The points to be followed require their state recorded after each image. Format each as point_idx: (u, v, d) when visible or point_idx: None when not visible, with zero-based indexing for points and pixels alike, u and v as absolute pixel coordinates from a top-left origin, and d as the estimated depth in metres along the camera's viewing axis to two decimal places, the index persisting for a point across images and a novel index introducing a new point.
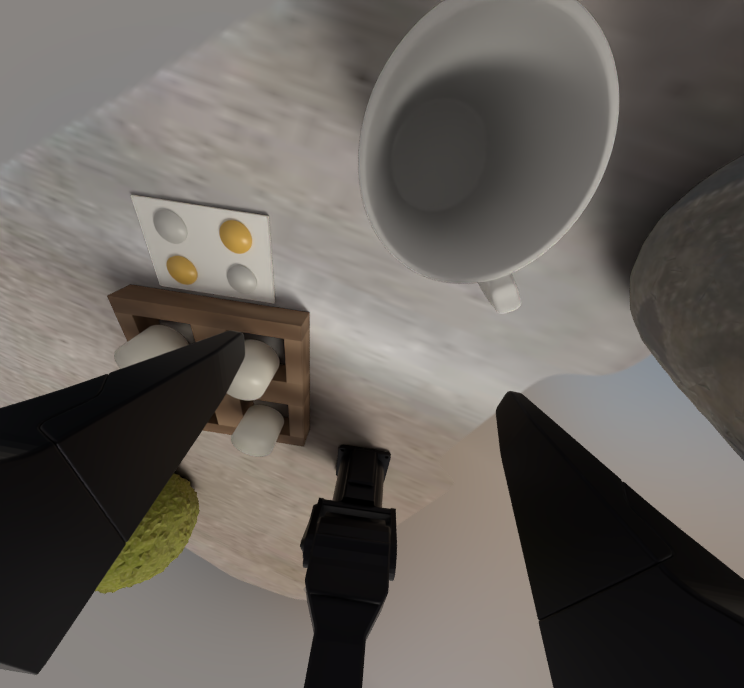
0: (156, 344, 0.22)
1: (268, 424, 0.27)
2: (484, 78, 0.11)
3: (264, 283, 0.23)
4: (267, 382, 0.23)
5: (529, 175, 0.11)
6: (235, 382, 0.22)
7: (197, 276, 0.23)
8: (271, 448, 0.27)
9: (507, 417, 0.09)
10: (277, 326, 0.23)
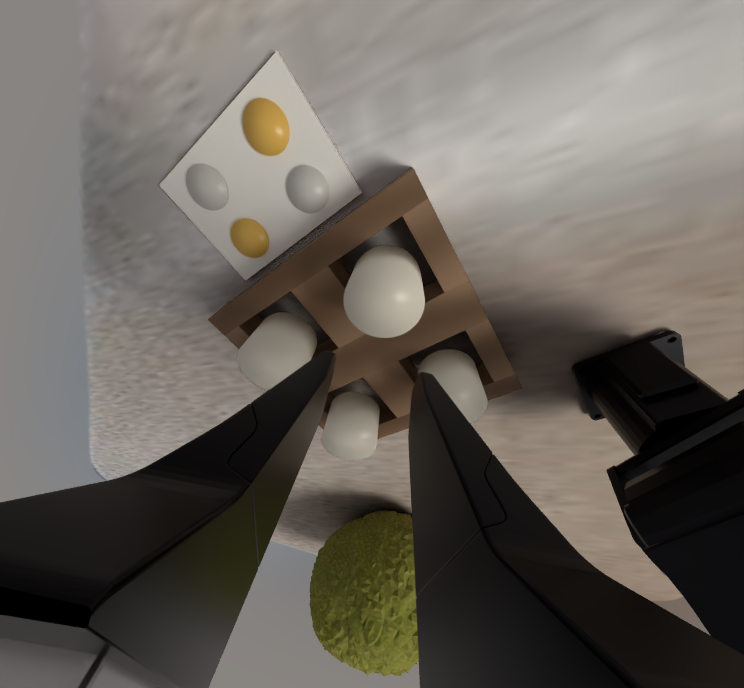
0: (269, 329, 0.17)
1: (457, 367, 0.17)
2: None
3: (333, 171, 0.16)
4: (419, 280, 0.14)
5: None
6: (378, 308, 0.14)
7: (266, 234, 0.18)
8: (484, 397, 0.17)
9: (415, 397, 0.09)
10: (382, 201, 0.14)
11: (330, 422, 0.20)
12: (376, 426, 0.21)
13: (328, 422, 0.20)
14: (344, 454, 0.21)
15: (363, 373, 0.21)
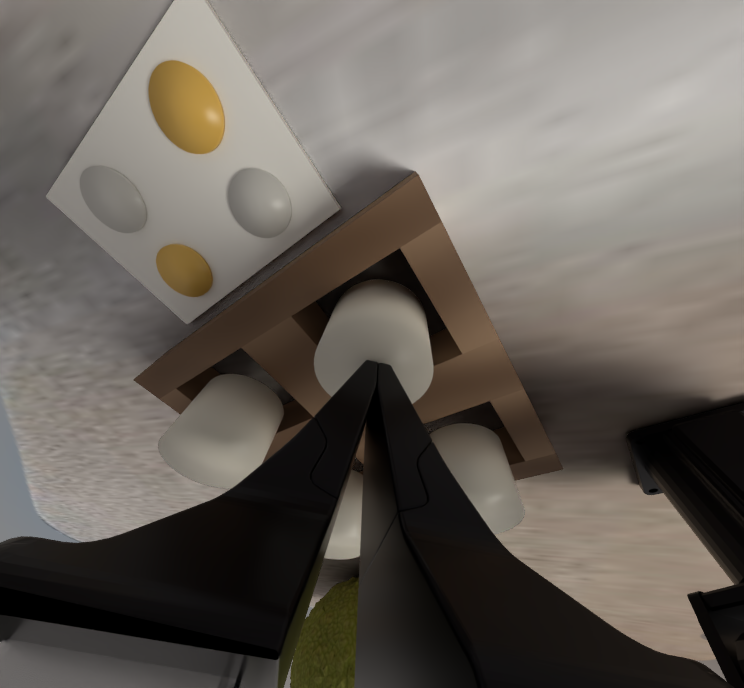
0: (205, 408, 0.11)
1: (480, 459, 0.12)
2: None
3: (296, 178, 0.10)
4: (426, 338, 0.09)
5: None
6: None
7: (207, 265, 0.13)
8: (521, 507, 0.11)
9: None
10: (369, 225, 0.09)
11: None
12: None
13: None
14: None
15: None
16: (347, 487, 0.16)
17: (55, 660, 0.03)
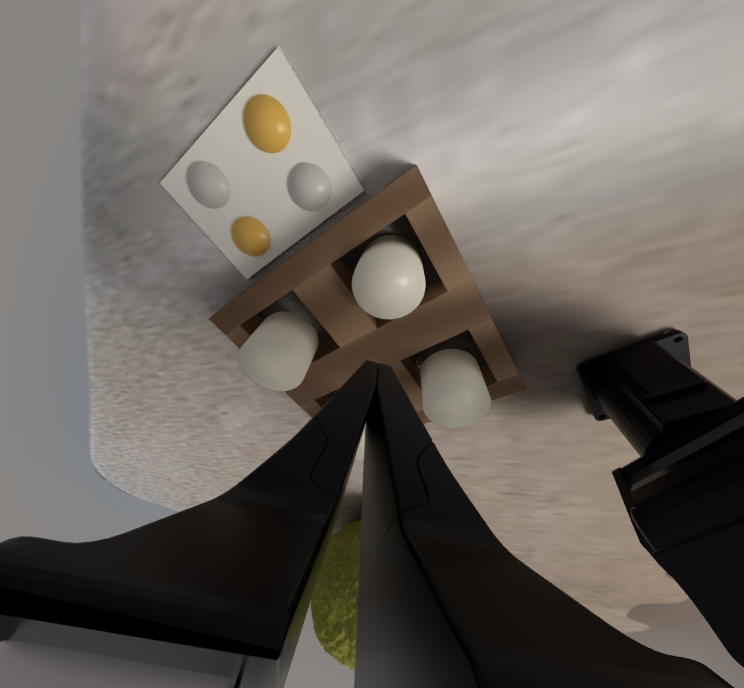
0: (270, 328, 0.16)
1: (460, 366, 0.17)
2: None
3: (335, 169, 0.15)
4: (420, 265, 0.15)
5: None
6: (383, 291, 0.15)
7: (267, 232, 0.18)
8: (488, 397, 0.16)
9: None
10: (385, 198, 0.14)
11: None
12: None
13: None
14: None
15: None
16: None
17: (54, 660, 0.03)
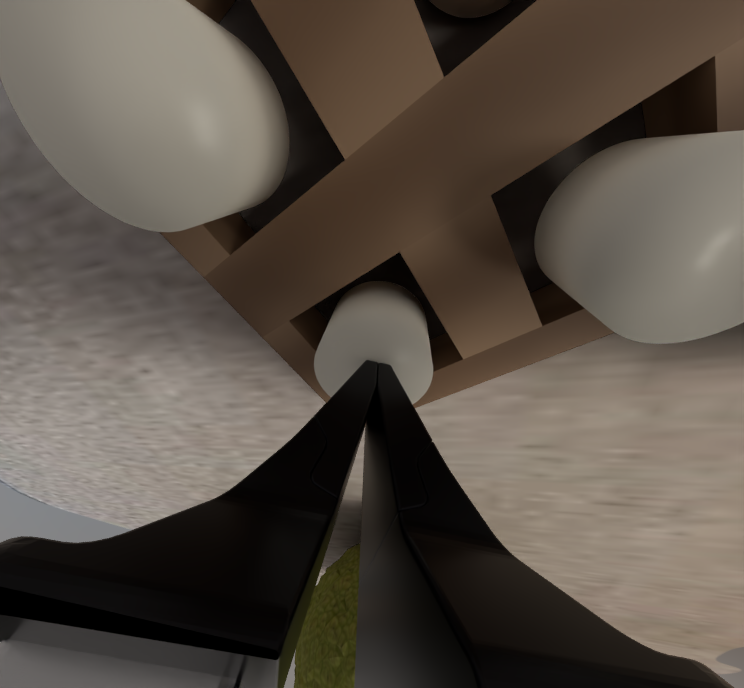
0: None
1: None
2: None
3: None
4: None
5: None
6: None
7: None
8: None
9: None
10: None
11: (332, 325, 0.09)
12: (428, 341, 0.10)
13: (329, 327, 0.09)
14: None
15: (400, 242, 0.09)
16: (398, 296, 0.10)
17: (55, 660, 0.03)
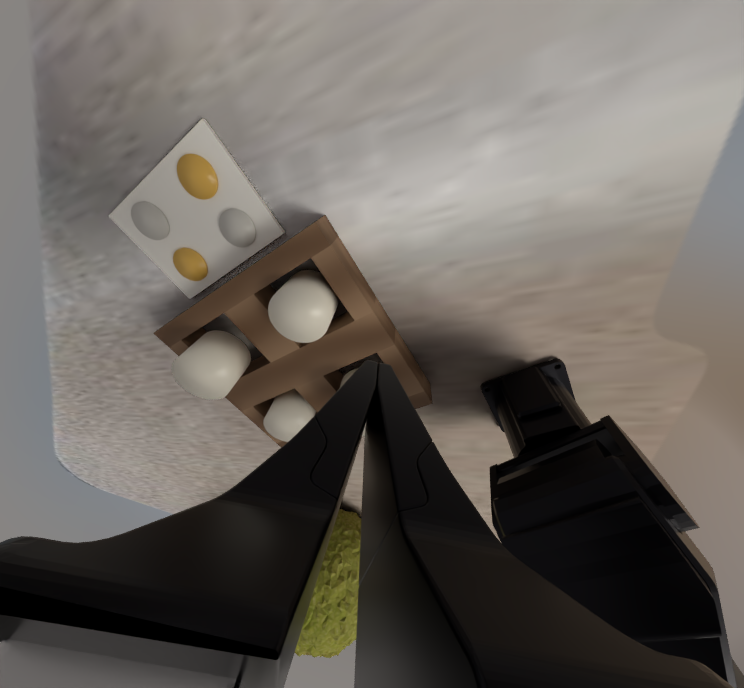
0: (200, 346, 0.19)
1: None
2: None
3: (258, 215, 0.18)
4: (325, 300, 0.18)
5: None
6: (295, 320, 0.18)
7: (205, 261, 0.20)
8: None
9: None
10: (293, 245, 0.17)
11: (270, 409, 0.24)
12: (310, 414, 0.25)
13: (269, 409, 0.24)
14: (283, 437, 0.25)
15: (294, 385, 0.23)
16: (299, 395, 0.25)
17: (55, 660, 0.03)
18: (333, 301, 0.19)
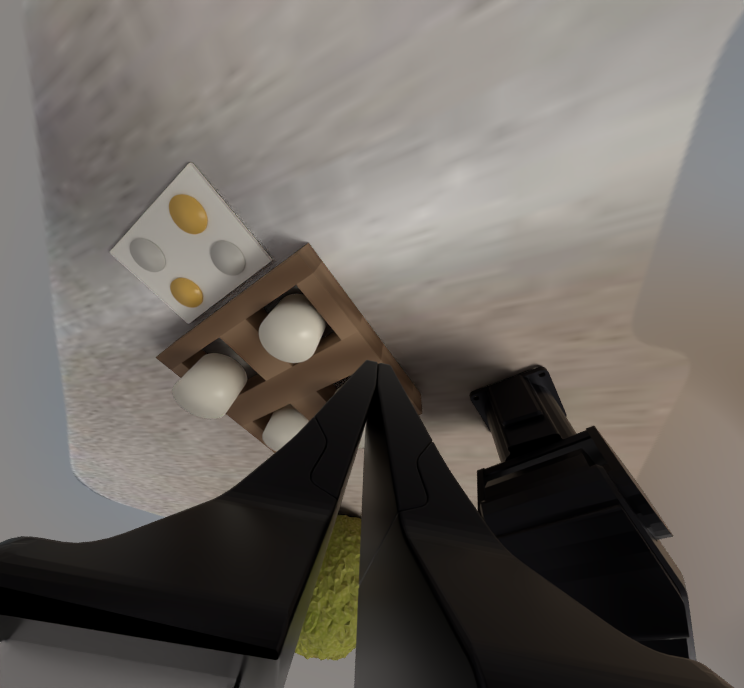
0: (198, 370, 0.20)
1: None
2: None
3: (246, 245, 0.19)
4: (312, 323, 0.19)
5: None
6: (284, 342, 0.19)
7: (200, 289, 0.22)
8: None
9: None
10: (279, 274, 0.18)
11: (268, 424, 0.25)
12: None
13: (267, 424, 0.25)
14: None
15: (289, 401, 0.25)
16: (296, 410, 0.26)
17: (54, 660, 0.03)
18: (320, 322, 0.20)
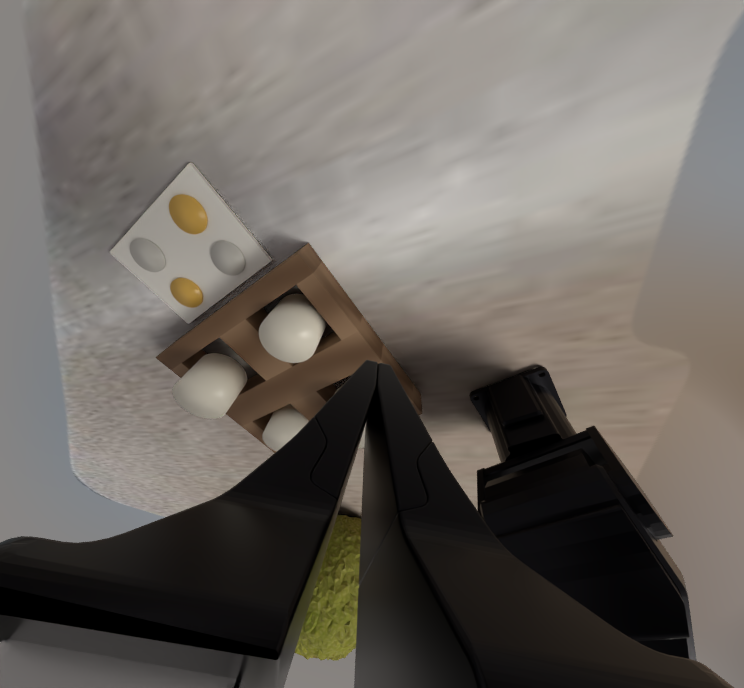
0: (198, 370, 0.20)
1: None
2: None
3: (246, 245, 0.19)
4: (312, 323, 0.19)
5: None
6: (284, 342, 0.19)
7: (200, 289, 0.22)
8: None
9: None
10: (279, 274, 0.18)
11: (268, 424, 0.25)
12: None
13: (267, 424, 0.25)
14: None
15: (289, 401, 0.25)
16: (296, 410, 0.26)
17: (54, 660, 0.03)
18: (320, 322, 0.20)
